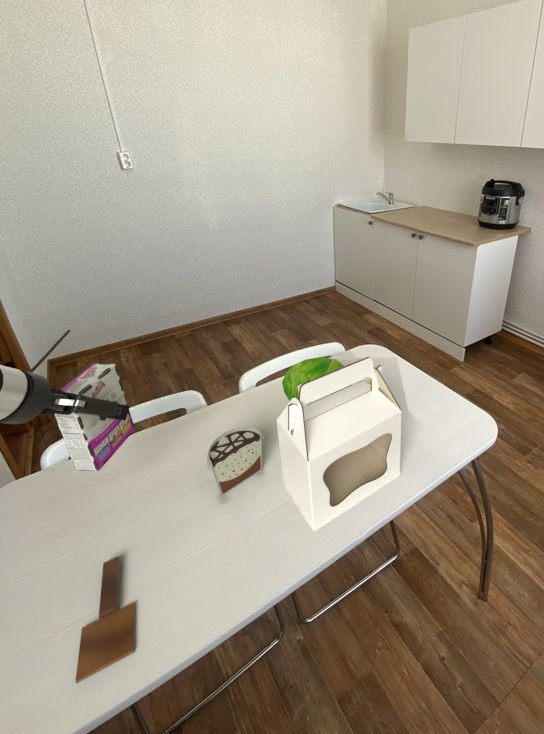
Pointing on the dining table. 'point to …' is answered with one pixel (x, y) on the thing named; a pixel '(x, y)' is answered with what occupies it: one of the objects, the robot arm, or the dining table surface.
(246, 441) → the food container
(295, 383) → the lettuce
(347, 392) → the gable box
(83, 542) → the dining table surface
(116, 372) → the candy bar box
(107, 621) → the spatula
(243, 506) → the dining table surface
